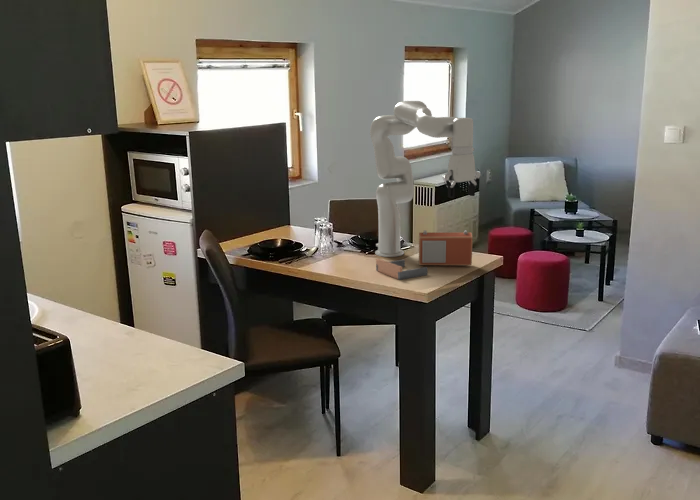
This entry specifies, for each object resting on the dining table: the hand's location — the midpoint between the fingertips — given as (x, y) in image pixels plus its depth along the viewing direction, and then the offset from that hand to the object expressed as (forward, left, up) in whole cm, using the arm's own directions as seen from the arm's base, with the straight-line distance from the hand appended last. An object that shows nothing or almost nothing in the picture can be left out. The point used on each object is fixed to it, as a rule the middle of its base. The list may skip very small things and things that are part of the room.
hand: (461, 196), depth 249 cm
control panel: (-15, +5, -31) cm, 35 cm away
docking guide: (-16, -16, -31) cm, 38 cm away
